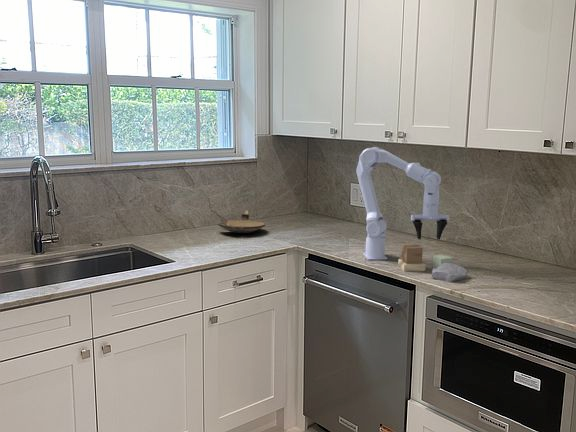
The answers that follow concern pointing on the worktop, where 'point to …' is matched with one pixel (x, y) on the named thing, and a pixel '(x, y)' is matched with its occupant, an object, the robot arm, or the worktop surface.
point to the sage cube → (440, 260)
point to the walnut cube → (411, 254)
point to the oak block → (411, 266)
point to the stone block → (449, 272)
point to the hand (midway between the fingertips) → (428, 238)
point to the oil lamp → (242, 225)
